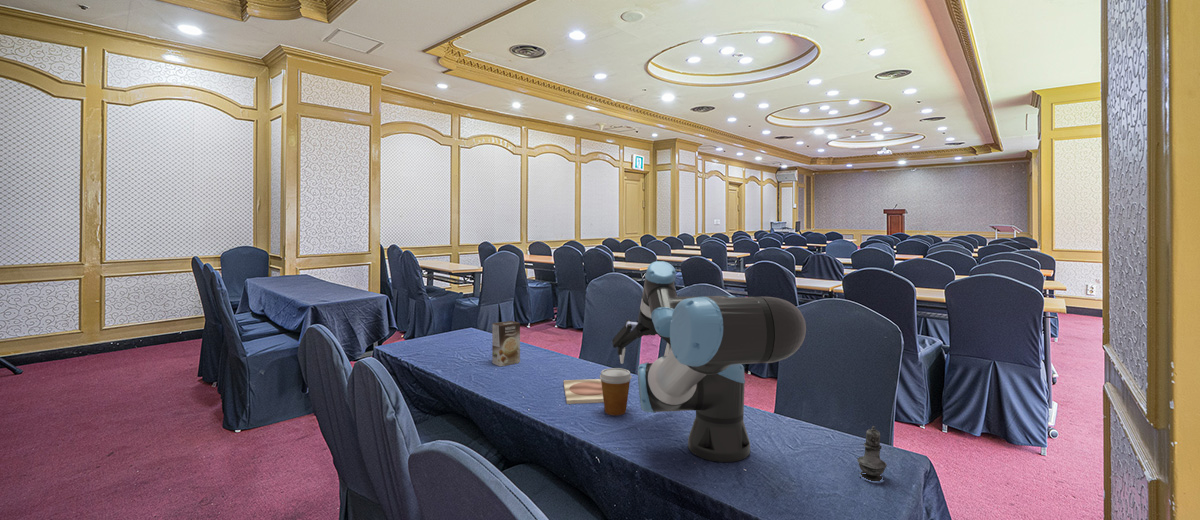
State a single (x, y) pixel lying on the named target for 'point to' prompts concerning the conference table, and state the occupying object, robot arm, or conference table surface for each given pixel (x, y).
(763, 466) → the conference table surface
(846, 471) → the conference table surface
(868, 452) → the dark grey chess piece
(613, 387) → the disposable coffee cup
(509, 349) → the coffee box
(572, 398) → the birch board
